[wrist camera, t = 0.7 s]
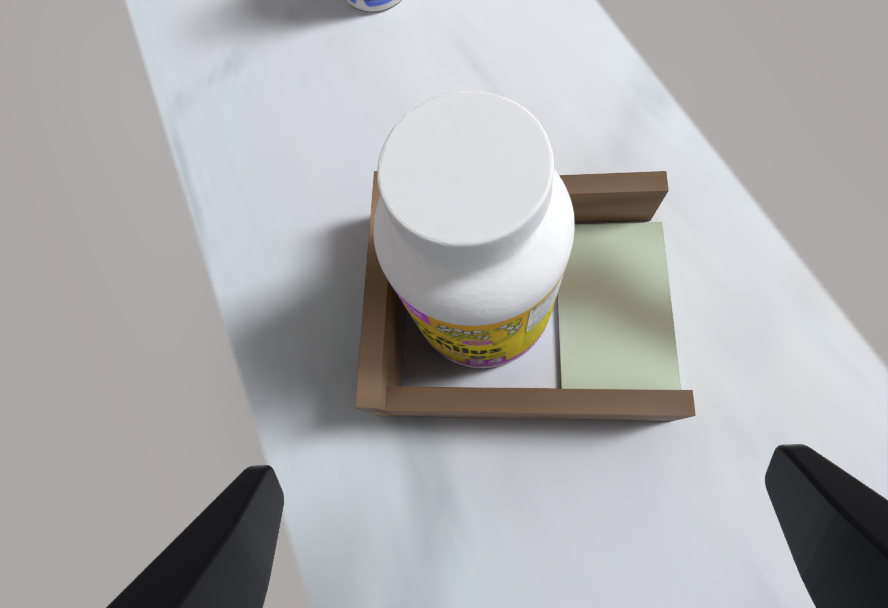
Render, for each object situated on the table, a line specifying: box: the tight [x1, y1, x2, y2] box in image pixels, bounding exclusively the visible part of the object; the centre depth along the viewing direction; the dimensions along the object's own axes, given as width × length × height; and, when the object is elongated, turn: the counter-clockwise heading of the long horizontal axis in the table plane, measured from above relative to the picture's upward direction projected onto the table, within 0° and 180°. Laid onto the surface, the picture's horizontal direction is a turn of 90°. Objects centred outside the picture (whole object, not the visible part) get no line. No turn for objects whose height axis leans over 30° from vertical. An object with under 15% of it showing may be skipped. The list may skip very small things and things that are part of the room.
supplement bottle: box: [373, 91, 575, 368], centre depth 19 cm, size 7×7×13 cm
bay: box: [355, 171, 696, 421], centre depth 23 cm, size 11×14×4 cm
